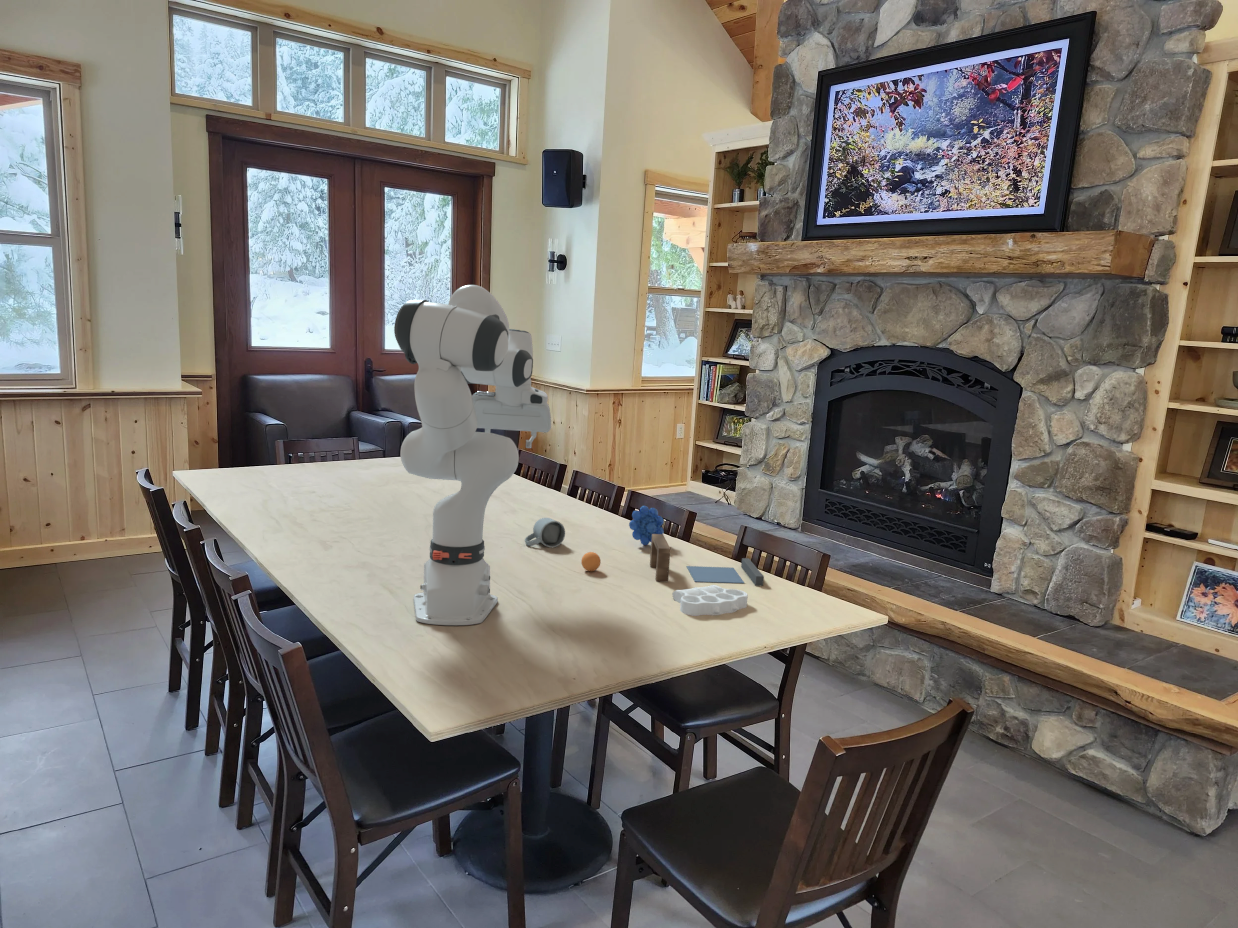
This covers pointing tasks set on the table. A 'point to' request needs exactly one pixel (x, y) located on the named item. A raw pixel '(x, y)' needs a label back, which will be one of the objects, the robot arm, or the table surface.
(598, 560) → the ball
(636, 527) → the blue flower
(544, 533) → the ceramic mug
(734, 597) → the white paint palette
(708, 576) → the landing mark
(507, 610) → the table surface
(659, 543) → the bridge
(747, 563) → the rail
